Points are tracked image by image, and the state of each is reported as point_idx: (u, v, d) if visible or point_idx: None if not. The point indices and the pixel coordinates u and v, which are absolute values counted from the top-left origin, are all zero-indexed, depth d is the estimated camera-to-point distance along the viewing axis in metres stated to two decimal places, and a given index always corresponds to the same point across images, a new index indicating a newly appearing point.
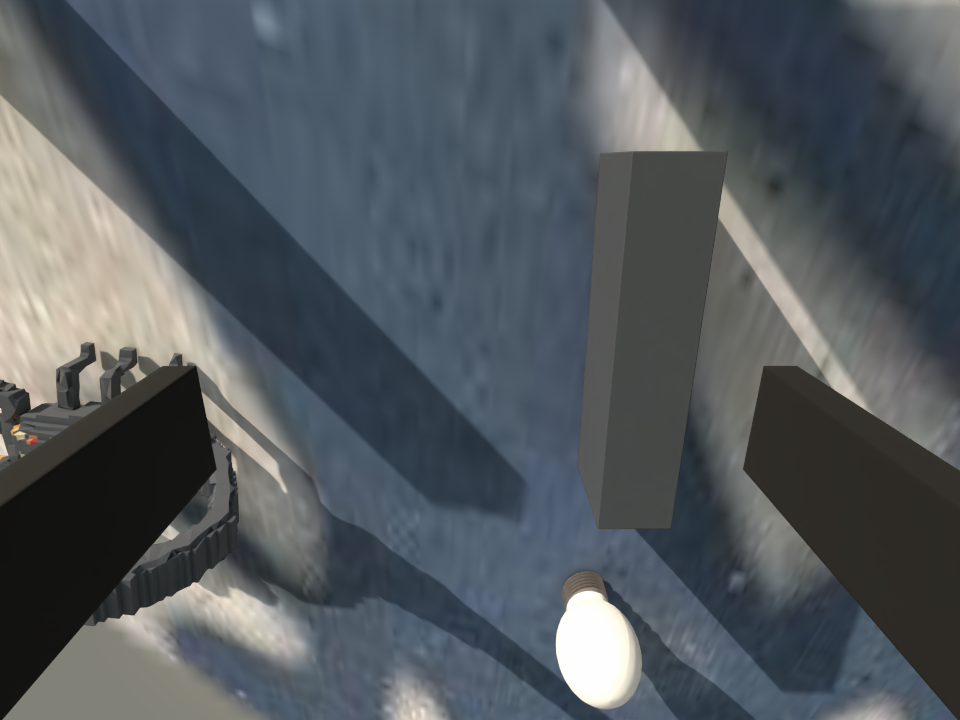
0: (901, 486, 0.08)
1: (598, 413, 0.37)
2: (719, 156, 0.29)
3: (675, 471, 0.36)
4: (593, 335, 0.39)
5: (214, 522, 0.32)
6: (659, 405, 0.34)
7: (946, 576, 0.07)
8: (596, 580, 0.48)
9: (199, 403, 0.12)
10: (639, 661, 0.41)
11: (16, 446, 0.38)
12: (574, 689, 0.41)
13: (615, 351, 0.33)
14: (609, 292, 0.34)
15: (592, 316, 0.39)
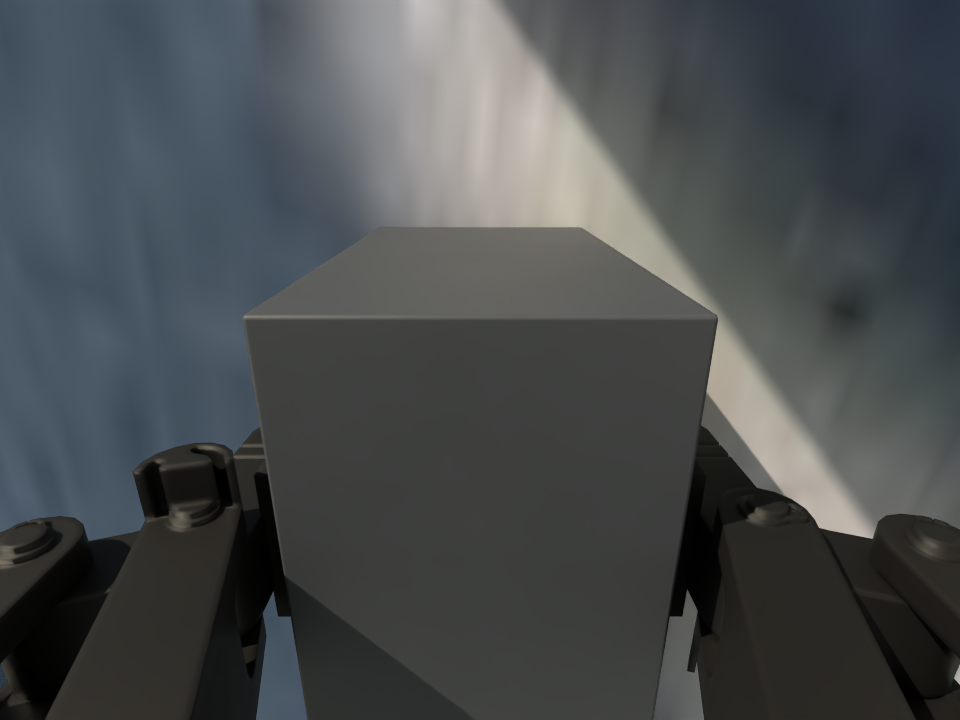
0: None
1: None
2: (677, 340, 0.06)
3: None
4: None
5: None
6: None
7: None
8: None
9: None
10: None
11: None
12: None
13: None
14: None
15: None
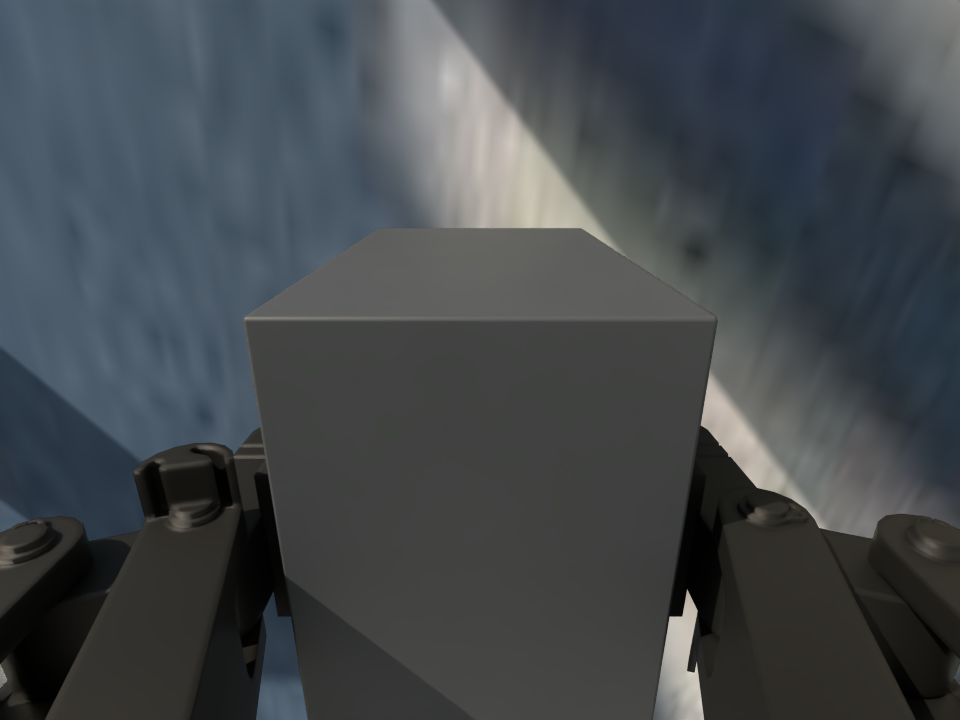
0: None
1: None
2: (677, 342, 0.06)
3: None
4: None
5: None
6: None
7: None
8: None
9: None
10: None
11: None
12: None
13: None
14: None
15: None
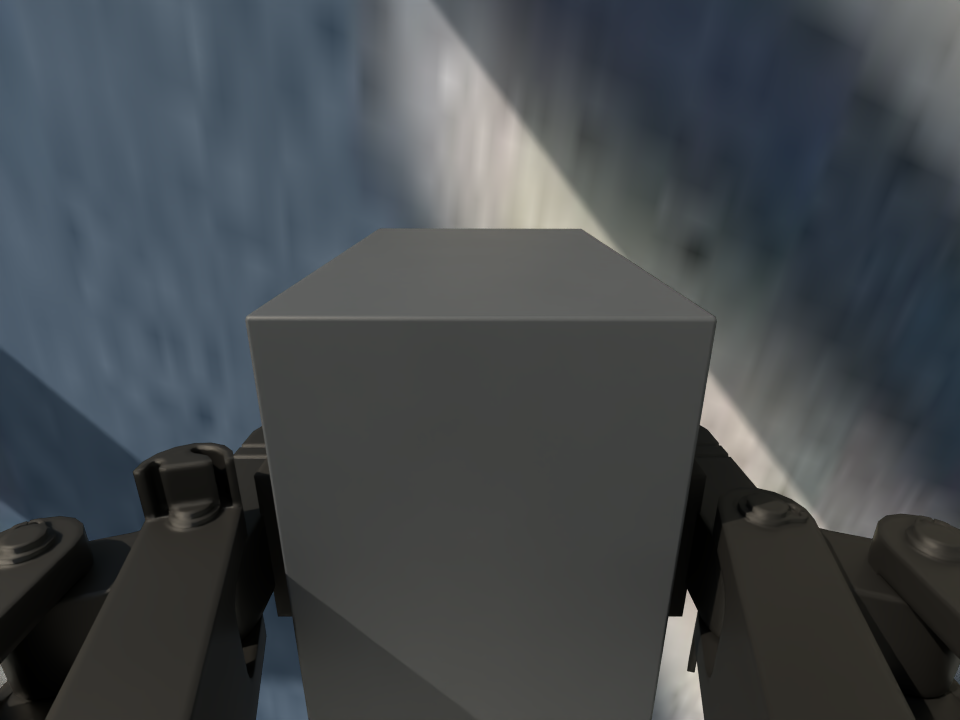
0: None
1: None
2: (676, 341, 0.06)
3: None
4: None
5: None
6: None
7: None
8: None
9: None
10: None
11: None
12: None
13: None
14: None
15: None
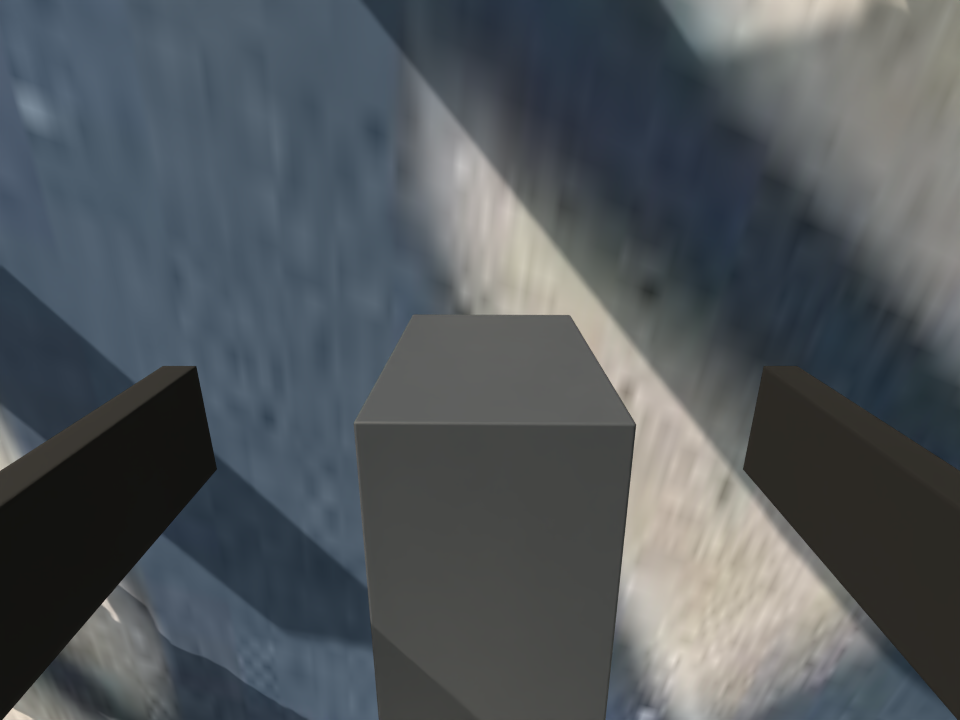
0: (901, 486, 0.08)
1: None
2: (611, 437, 0.10)
3: None
4: None
5: None
6: None
7: (946, 576, 0.07)
8: None
9: (200, 403, 0.12)
10: None
11: None
12: None
13: None
14: None
15: None
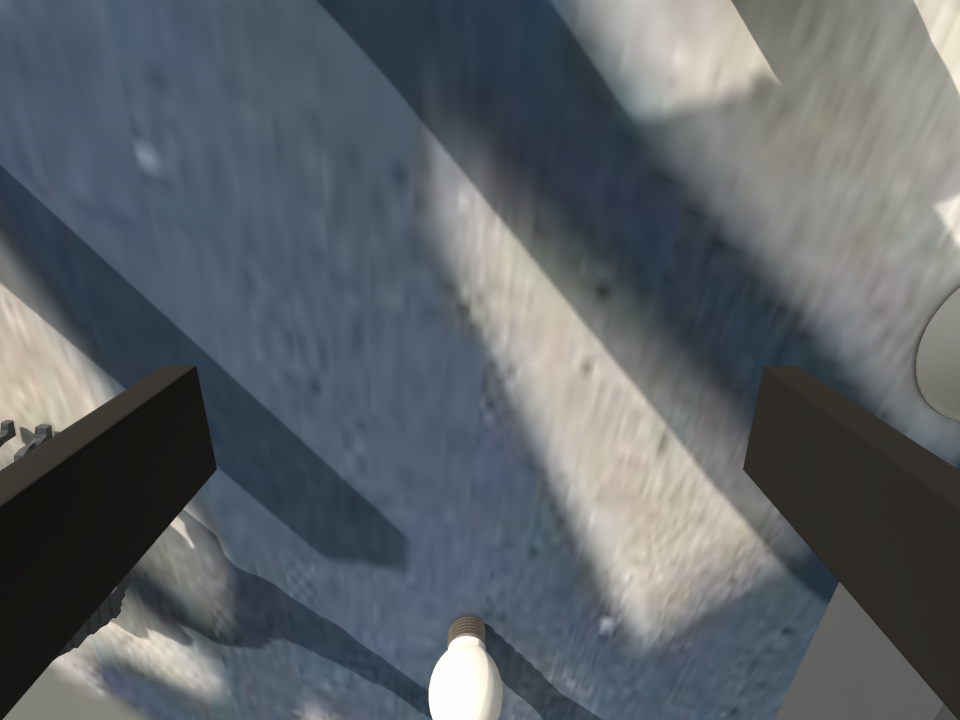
0: (901, 486, 0.08)
1: None
2: None
3: None
4: None
5: None
6: None
7: (946, 576, 0.07)
8: (476, 625, 0.53)
9: (199, 403, 0.12)
10: (496, 703, 0.46)
11: None
12: None
13: None
14: None
15: (795, 717, 0.36)
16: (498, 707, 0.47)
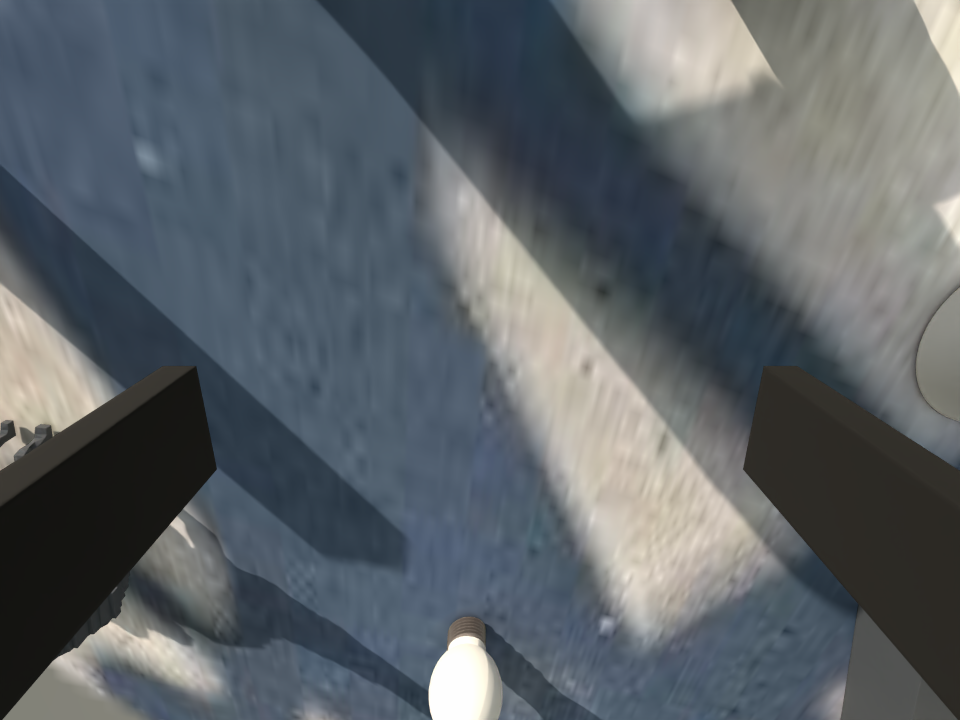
0: (901, 486, 0.08)
1: None
2: None
3: None
4: (859, 703, 0.56)
5: None
6: None
7: (946, 576, 0.07)
8: (476, 625, 0.53)
9: (199, 403, 0.12)
10: (496, 703, 0.46)
11: None
12: None
13: None
14: (890, 709, 0.51)
15: (856, 688, 0.56)
16: (498, 707, 0.47)
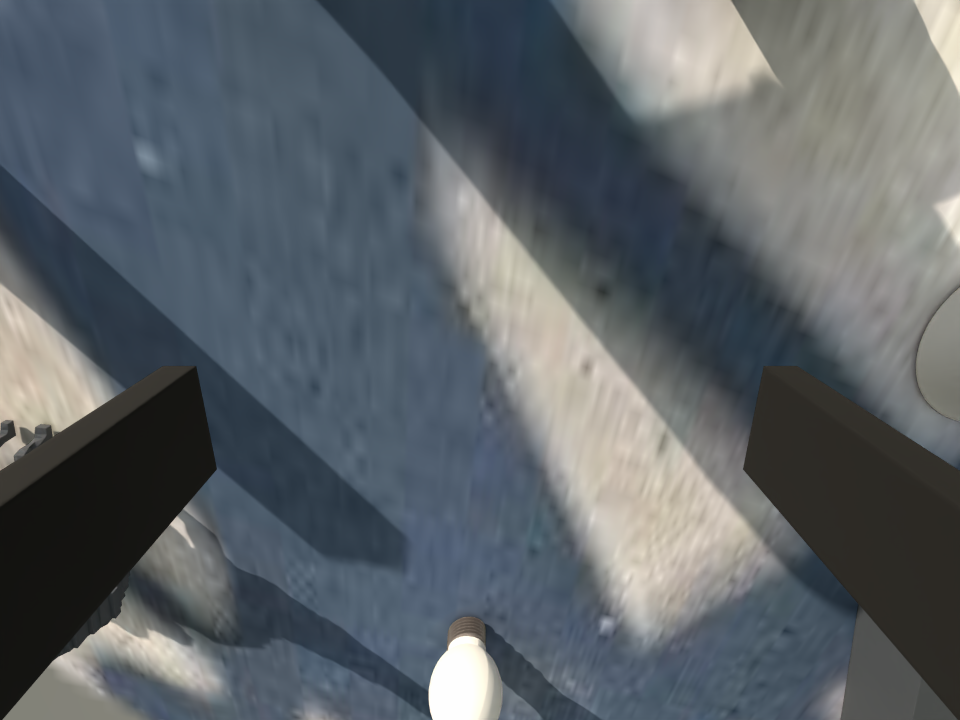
0: (901, 486, 0.08)
1: None
2: None
3: None
4: (859, 703, 0.56)
5: None
6: None
7: (946, 576, 0.07)
8: (476, 625, 0.53)
9: (199, 403, 0.12)
10: (496, 703, 0.46)
11: None
12: None
13: None
14: (890, 709, 0.51)
15: (856, 688, 0.56)
16: (498, 707, 0.47)
